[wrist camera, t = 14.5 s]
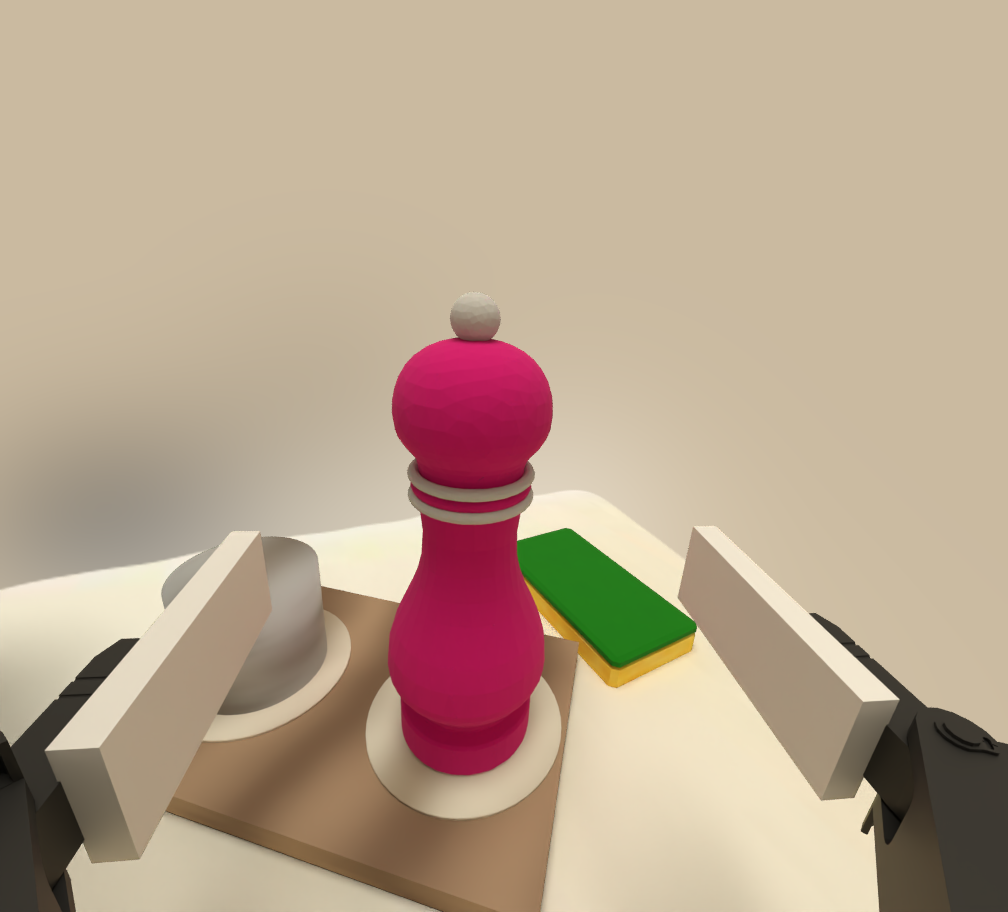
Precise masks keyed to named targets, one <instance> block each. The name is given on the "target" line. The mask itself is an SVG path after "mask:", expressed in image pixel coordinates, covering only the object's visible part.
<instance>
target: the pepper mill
mask: <svg viewBox="0 0 1008 912" xmlns="http://www.w3.org/2000/svg"><path fill="white" fill-rule="evenodd" d="M500 320H501V319H500V312H499V309H498V307H497V305H496V303H495V302H494V300H493V299H492V298H490V297H489V296H487V295H486V294H483V293H478V292H472V293H467V294H464V295H463V296H461V297H460V298H459V299H458V300H457V301H456V302H455V303H454V305H453V308H452V310H451V315H450V321H451V326H452V328H453V331H454V332H455V334H456V335H457V336H458V337H459V338H452V339H447V340H442V341H439V342H436V343H434V344H431V345H429V346H427V347H425V348H424V349H422V350H421V351H420V352H418V353H416V354H415V355H414V356H413V357H412V358H411V359H410V360H409V361H408V362H407V363H406V364H405V366H404V368H403V369H402V371H401V373H400V374H399V376H398V379H397V382H396V385H395V388H394V393H393V398H392V415H393V421H394V426H395V430H396V433H397V436H398V437H399V439H400V440H401V442H402V443H403V445H404V446H405V447H406V448H407V449H408V450H409V452H410V453H411V454H412V455H413V456H414V457H415V459H414V460H413V461H412V462H411V463H410V465H409V467H408V470H407V471H408V472H407V474H408V478H409V480H410V481H411V485H410V487H409V489H408V497H409V500H410V502H411V504H412V505H413V506H414V507H415V508H416V509H417V510H418V511H420V513H421V520H422V527H423V538H422V554H421V557H420V561H419V565H418V568H417V570H416V573H415V575H414V577H413V579H412V581H411V583H410V585H409V587H408V589H407V591H406V593H405V595H404V597H403V599H402V601H401V603H400V605H399V607H398V609H397V611H396V615H395V618H394V621H393V624H392V627H391V631H390V635H389V649H388V668H389V673H390V677H391V680H392V683H393V685H394V687H395V689H396V691H397V693H398V694H399V695H400V697H401V722H402V731H403V735H404V738H405V741H406V743H407V745H408V747H409V748H410V750H411V751H412V752H413V754H414V755H415V756H416V757H417V758H418V759H419V760H420V761H421V762H423V763H424V764H426V765H427V766H429V767H431V768H433V769H435V770H436V771H439V772H443V773H447V774H452V775H473V774H478V773H482V772H486V771H489V770H492V769H494V768H495V767H497V766H498V765H500V764H502V763H503V762H505V761H506V760H508V759H509V758H510V757H511V756H512V755H513V754H514V753H515V751H516V750H517V748H518V747H519V746H520V744H521V743H522V741H523V739H524V736H525V734H526V730H527V726H528V719H529V708H530V696H531V694H532V693H533V691H534V689H535V688H536V686H537V684H538V683H539V681H540V678H541V675H542V671H543V667H544V660H545V654H544V632H543V627H542V623H541V619H540V616H539V612H538V609H537V606H536V604H535V601H534V599H533V597H532V595H531V592H530V590H529V588H528V586H527V585H526V583H525V580H524V578H523V575H522V572H521V570H520V567H519V562H518V557H517V529H518V524H519V519H520V513H522V512H523V511H525V510H526V509H527V508H528V507H529V506H530V504H531V502H532V499H533V491H532V488H531V484H532V482H533V480H534V475H535V472H534V469H533V467H532V465H531V464H530V463H529V462H528V460H529V458H530V457H532V456H533V455H534V454H535V453H536V452H537V451H538V450H539V449H540V447H541V446H542V444H543V443H544V442H545V440H546V438H547V436H548V434H549V432H550V428H551V423H552V416H553V410H552V407H553V405H552V404H553V403H552V395H551V391H550V387H549V384H548V381H547V379H546V377H545V375H544V373H543V371H542V370H541V368H540V367H539V366H538V364H537V363H536V362H535V361H534V359H532V358H531V357H530V356H528V355H527V354H526V353H525V352H524V351H522V350H520V349H518V348H516V347H515V346H513V345H510V344H508V343H505V342H502V341H498V340H494V339H491V338H492V337H493V336H494V335H495V334H496V332H497V331H498V328H499V325H500Z"/></svg>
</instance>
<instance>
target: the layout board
mask: <svg viewBox="0 0 1008 912" xmlns="http://www.w3.org/2000/svg"><path fill="white" fill-rule="evenodd" d="M261 540H262V547H263V553H264V559H265V566H266V572H267V579H268V585H269V592H270V598H271V605H272V611H271V613H270V615H269V617H268V619H267V621H266V622H265V624H264V626H263V628H262V630H261V632H260V634H259V636H258V638H257V639H256V641H255V643H254V645H253V647H252V649H251V651H250V653H249V654H248V656H247V658H246V660H245V662H244V664H243V666H242V668H241V669H240V671H239V673H238V675H237V677H236V679H235V681H234V683H233V685H232V686H231V688H230V690H229V692H228V694H227V696H226V698H225V700H224V701H223V703H222V705H221V707H220V709H219V711H218V713H217V715H216V716H215V718H214V720H213V722H212V724H211V726H210V728H209V730H208V731H207V733H206V735H205V737H204V739H203V741H202V743H201V745H200V747H199V748H198V750H197V752H196V754H195V756H194V758H193V760H192V762H191V763H190V765H189V767H188V769H187V771H186V773H185V775H184V777H183V778H182V780H181V782H180V784H179V786H178V788H177V790H176V792H175V794H174V795H173V797H172V799H171V801H170V803H169V805H168V807H167V809H166V810H165V811H167V812H170V813H173V814H176V815H178V816H181V817H184V818H187V819H189V820H192V821H195V822H198V823H201V824H203V825H206V826H209V827H212V828H214V829H217V830H220V831H223V832H225V833H228V834H231V835H234V836H236V837H239V838H242V839H245V840H247V841H250V842H253V843H256V844H258V845H261V846H264V847H267V848H269V849H272V850H275V851H278V852H281V853H283V854H286V855H289V856H292V857H294V858H297V859H300V860H303V861H305V862H308V863H311V864H314V865H316V866H319V867H322V868H325V869H327V870H330V871H333V872H336V873H338V874H341V875H344V876H347V877H349V878H352V879H355V880H358V881H361V882H363V883H366V884H369V885H372V886H374V887H377V888H380V889H383V890H385V891H388V892H391V893H394V894H396V895H399V896H402V897H405V898H407V899H410V900H413V901H416V902H418V903H421V904H424V905H427V906H429V907H432V908H435V909H438V910H440V911H443V912H540V909H541V902H542V895H543V888H544V881H545V874H546V867H547V860H548V854H549V847H550V840H551V833H552V826H553V819H554V812H555V805H556V799H557V792H558V785H559V778H560V771H561V764H562V757H563V750H564V743H565V737H566V730H567V723H568V716H569V709H570V702H571V695H572V688H573V681H574V675H575V668H576V661H577V654H578V646H579V642H576V641H571V640H567V639H562V638H557V637H553V636H548V635H544V654H545V660H544V667H543V671H542V675H541V678H540V681H539V683H538V684H537V686H536V688H535V689H534V691H533V693H532V694H531V696H530V708H529V719H528V726H527V730H526V734H525V736H524V739H523V741H522V743H521V744H520V746H519V747H518V748H517V750H516V751H515V753H514V754H513V755H512V756H511V757H510V758H509V759H508V760H506V761H505V762H503V763H502V764H500V765H498V766H497V767H495V768H494V769H492V770H489V771H486V772H482V773H478V774H473V775H452V774H447V773H443V772H439V771H436V770H435V769H433V768H431V767H429V766H427V765H426V764H424V763H423V762H421V761H420V760H419V759H418V758H417V757H416V756H415V755H414V754H413V752H412V751H411V750H410V748H409V747H408V745H407V743H406V741H405V738H404V735H403V731H402V722H401V697H400V695H399V694H398V693H397V691H396V689H395V687H394V685H393V683H392V680H391V677H390V673H389V668H388V649H389V635H390V631H391V627H392V624H393V621H394V618H395V615H396V611H397V609H398V607H399V605H400V603H396V602H392V601H387V600H382V599H378V598H373V597H369V596H364V595H359V594H355V593H350V592H346V591H341V590H336V589H332V588H327V587H323V586H321V582H320V573H319V564H318V557H317V554H316V552H315V551H314V550H313V549H312V548H311V547H310V546H309V545H307V544H305V543H303V542H301V541H298V540H295V539H291V538H285V537H261ZM218 547H219V546H217V547H214V548H211V549H209V550H206V551H204V552H202V553H200V554H198V555H196V556H194V557H192V558H191V559H189V560H187V561H186V562H184V563H183V564H182V565H180V566H179V567H178V568H177V569H175V570H174V571H173V572H172V573H171V574H170V576H169V577H168V578H167V580H166V581H165V583H164V585H163V588H162V600H163V604H164V608H165V609H166V608H167V607H168V605H169V604H170V603H171V602H172V601H173V600H174V598H175V597H176V596H177V595H178V594H179V593H180V591H181V590H182V589H183V588H184V587H185V586H186V584H187V583H188V582H189V581H190V580H191V579H192V577H193V576H194V575H195V574H196V573H197V572H198V570H199V569H200V568H201V567H202V566H203V564H204V563H205V562H206V561H207V560H208V559H209V557H210V556H211V555H212V554H213V553H214V552H215V550H216V549H217V548H218Z"/></svg>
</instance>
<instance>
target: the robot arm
mask: <svg viewBox="0 0 1008 912" xmlns="http://www.w3.org/2000/svg"><path fill="white" fill-rule="evenodd" d="M678 599H679V600H680V602H681V603H682V604H683V606H684V607H685V609H686V610H687V611H688V613H689V614H690V616H691V617H692V619H693V620H694V621H695V623H696V624H697V626H698V627H699V628H700V630H701V631H702V633H703V634H704V636H705V637H706V638H707V640H708V641H709V643H710V644H711V645H712V647H713V648H714V650H715V651H716V653H717V654H718V655H719V657H720V658H721V660H722V661H723V662H724V664H725V665H726V667H727V668H728V670H729V671H730V672H731V674H732V675H733V677H734V678H735V679H736V681H737V682H738V684H739V685H740V687H741V688H742V689H743V691H744V692H745V694H746V695H747V696H748V698H749V699H750V701H751V702H752V704H753V705H754V706H755V708H756V709H757V711H758V712H759V713H760V715H761V716H762V718H763V719H764V721H765V722H766V723H767V725H768V726H769V728H770V729H771V730H772V732H773V733H774V735H775V736H776V738H777V739H778V740H779V742H780V743H781V745H782V746H783V747H784V749H785V750H786V752H787V753H788V755H789V756H790V757H791V759H792V760H793V762H794V763H795V764H796V766H797V767H798V769H799V770H800V772H801V773H802V774H803V776H804V777H805V779H806V780H807V781H808V783H809V784H810V786H811V787H812V789H813V790H814V791H815V793H816V794H817V796H818V797H819V798H820V800H821V801H822V800H833V799H845V798H854V797H855V795H856V793H857V791H858V788H859V786H860V784H861V782H862V780H863V778H865V779H866V780H867V781H868V782H869V784H870V785H871V786H872V787H873V788H874V790H875V791H876V792H877V795H876V797H875V799H874V801H873V803H872V805H871V807H870V809H869V811H868V813H867V816H866V818H865V820H864V822H863V824H862V828H861V832H863V833H865V834H868V832H869V830H870V828H871V826H874V836H875V851H876V867H877V882H878V897H879V912H1008V744H1005V743H1000V742H997V741H996V740H995V739H993V738H992V737H991V736H990V735H989V734H988V733H987V732H986V731H984V730H983V729H982V728H980V727H978V726H977V725H976V724H974V723H973V722H971V721H969V720H967V719H965V718H963V717H961V716H959V715H957V714H955V713H953V712H949V711H946V710H943V709H939V708H927V707H926V706H925V705H924V704H923V703H922V702H921V701H919V700H918V699H917V698H916V697H915V696H914V695H913V694H912V693H911V692H909V691H908V690H907V689H906V688H905V687H904V686H903V685H902V684H901V683H899V682H898V681H897V680H896V679H895V678H894V677H893V676H892V675H891V674H890V673H889V672H887V671H886V670H885V669H884V668H883V667H882V666H881V665H880V664H879V663H877V662H876V661H875V660H874V659H871V658H870V657H869V654H868V653H866V652H865V651H864V650H863V649H862V648H861V647H860V646H859V645H855V642H854V641H853V640H852V639H851V638H850V637H849V636H848V635H847V634H845V633H844V632H843V631H842V630H841V629H840V628H839V627H838V626H836V625H834V624H833V623H831V622H829V621H828V620H826V619H824V618H823V617H821V616H819V615H818V614H816V613H807V612H806V611H805V610H804V609H803V608H802V607H801V606H800V605H799V604H798V603H797V602H796V601H795V600H794V599H793V598H791V597H790V596H789V595H788V594H787V593H786V592H785V591H784V590H783V589H782V588H781V587H780V586H779V585H778V584H777V583H776V582H774V580H772V579H771V578H770V577H769V576H768V575H767V574H766V573H765V572H764V571H763V570H762V569H761V568H760V567H759V566H758V565H756V564H755V563H754V562H753V561H752V560H751V559H750V558H749V557H748V556H747V555H746V554H745V553H744V552H743V551H742V550H741V549H740V548H738V547H737V546H736V545H735V544H734V543H733V542H732V541H731V540H730V539H729V538H728V537H727V536H726V535H725V534H724V533H722V531H720V530H719V529H718V528H717V527H716V526H693V530H692V534H691V539H690V544H689V548H688V553H687V558H686V562H685V567H684V571H683V576H682V580H681V585H680V590H679V594H678ZM271 611H272V605H271V598H270V592H269V585H268V579H267V572H266V566H265V559H264V553H263V547H262V540H261V534H260V531H232V532H231V533H230V534H229V535H228V537H227V538H226V539H225V540H224V541H223V542H222V544H221V545H220V546H219V547H218V548H217V549H216V550H215V552H214V553H213V554H212V555H211V556H210V557H209V559H208V560H207V561H206V562H205V563H204V564H203V566H202V567H201V568H200V569H199V570H198V572H197V573H196V574H195V575H194V576H193V577H192V579H191V580H190V581H189V582H188V583H187V584H186V586H185V587H184V588H183V589H182V590H181V591H180V593H179V594H178V595H177V596H176V597H175V598H174V600H173V601H172V602H171V603H170V604H169V605H168V607H167V608H166V609H165V610H164V611H163V613H162V614H161V615H160V616H159V617H158V618H157V620H156V621H155V622H154V623H153V624H152V625H151V627H150V628H149V629H148V630H147V631H146V632H145V634H144V635H143V636H142V637H141V638H133V639H121V640H119V641H118V642H116V643H115V644H113V645H112V646H110V647H109V648H107V649H106V650H104V651H103V652H101V653H100V654H98V655H97V656H95V657H94V658H93V659H92V660H91V662H90V663H89V664H88V665H87V666H86V667H85V668H84V669H83V670H82V671H81V672H80V673H79V674H78V675H77V677H76V679H75V681H74V682H71V683H70V684H69V685H68V686H67V687H66V688H65V689H64V691H63V692H62V693H61V694H60V695H59V699H57V700H54V701H53V702H52V703H51V704H50V706H49V707H48V708H47V709H46V710H45V711H44V712H43V713H42V714H41V715H40V716H39V717H38V718H37V720H36V721H35V722H34V723H33V724H32V725H31V726H30V727H29V728H28V729H27V730H26V731H25V732H24V733H23V735H22V736H21V737H20V738H19V739H18V740H17V741H16V742H15V743H14V744H13V745H12V746H11V747H10V745H9V743H8V741H7V739H6V737H5V736H4V734H3V733H2V732H1V731H0V912H76V910H75V904H74V898H73V892H72V885H71V879H70V877H69V875H68V872H67V870H66V867H67V866H68V864H69V863H70V861H71V860H72V858H73V857H74V855H75V854H76V852H77V850H78V849H79V847H80V846H81V844H82V843H83V844H84V846H85V848H86V851H87V853H88V855H89V858H90V860H91V863H102V862H114V861H126V860H137V859H140V857H141V856H142V854H143V852H144V850H145V848H146V846H147V844H148V842H149V841H150V839H151V837H152V835H153V833H154V831H155V829H156V827H157V825H158V824H159V822H160V820H161V818H162V816H163V814H164V812H165V810H166V809H167V807H168V805H169V803H170V801H171V799H172V797H173V795H174V794H175V792H176V790H177V788H178V786H179V784H180V782H181V780H182V778H183V777H184V775H185V773H186V771H187V769H188V767H189V765H190V763H191V762H192V760H193V758H194V756H195V754H196V752H197V750H198V748H199V747H200V745H201V743H202V741H203V739H204V737H205V735H206V733H207V731H208V730H209V728H210V726H211V724H212V722H213V720H214V718H215V716H216V715H217V713H218V711H219V709H220V707H221V705H222V703H223V701H224V700H225V698H226V696H227V694H228V692H229V690H230V688H231V686H232V685H233V683H234V681H235V679H236V677H237V675H238V673H239V671H240V669H241V668H242V666H243V664H244V662H245V660H246V658H247V656H248V654H249V653H250V651H251V649H252V647H253V645H254V643H255V641H256V639H257V638H258V636H259V634H260V632H261V630H262V628H263V626H264V624H265V622H266V621H267V619H268V617H269V615H270V613H271Z"/></svg>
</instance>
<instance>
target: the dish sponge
mask: <svg viewBox="0 0 1008 912" xmlns="http://www.w3.org/2000/svg"><path fill="white" fill-rule="evenodd" d="M517 557H518V562H519V567H520V570H521V572H522V575H523V578H524V580H525V583H526V585H527V586H528V588H529V590H530V592H531V595H532V597H533V599H534V601H535V604H536V606H537V609H538V611H539V612H540V613H541V614H542V615H543V616H544V617H545V618H546V619H547V621H548V622H549V623H550V624H551V625H552V626H553V627H554V628H555V629H556V630H557V631H558V632H559V633H560V634H561V636H562V637H563V638H564V639H567V640H571V641H576V642H579V646H578V654H579V655H580V656H581V657H582V658H583V659H584V660H585V661H586V662H587V664H588V665H589V666H590V667H591V668H592V669H593V670H594V671H595V672H596V673H597V674H598V675H599V676H600V678H601V679H602V680H603V681H604V682H605V683H606V684H607V685H608V686H611V687H615V688H618V687H620V686H622V685H624V684H626V683H628V682H630V681H632V680H634V679H636V678H638V677H640V676H642V675H644V674H646V673H648V672H650V671H652V670H654V669H656V668H658V667H660V666H662V665H664V664H666V663H668V662H670V661H672V660H674V659H676V658H678V657H680V656H682V655H684V654H686V653H688V652H690V651H691V650H692V646H693V642H694V637H695V632H696V629H697V626H696V623H695V622H694V621H693V620H692V619H690V618H689V617H688V616H686V615H685V614H684V613H682V612H681V611H680V610H678V609H677V608H676V607H674V606H673V605H672V604H670V603H669V602H668V601H666V600H665V599H664V598H662V597H661V596H660V595H658V594H657V593H656V592H654V591H653V590H652V589H650V588H649V587H648V586H646V585H645V584H644V583H642V582H641V581H640V580H638V579H637V578H636V577H634V576H633V575H632V574H630V573H629V572H628V571H626V570H625V569H624V568H622V567H621V566H620V565H618V564H617V563H616V562H614V561H613V560H612V559H610V558H609V557H608V556H606V555H605V554H604V553H602V552H601V551H600V550H598V549H597V548H596V547H594V546H593V545H592V544H590V543H589V542H588V541H586V540H585V539H584V538H582V537H581V536H580V535H578V534H577V533H576V532H574V531H573V530H572V529H568V528H564V529H560V530H556V531H553V532H549V533H545V534H541V535H538V536H534V537H530V538H526V539H522V540H519V541H517Z"/></svg>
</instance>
